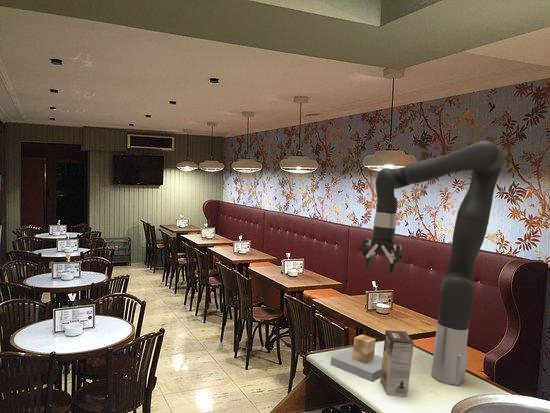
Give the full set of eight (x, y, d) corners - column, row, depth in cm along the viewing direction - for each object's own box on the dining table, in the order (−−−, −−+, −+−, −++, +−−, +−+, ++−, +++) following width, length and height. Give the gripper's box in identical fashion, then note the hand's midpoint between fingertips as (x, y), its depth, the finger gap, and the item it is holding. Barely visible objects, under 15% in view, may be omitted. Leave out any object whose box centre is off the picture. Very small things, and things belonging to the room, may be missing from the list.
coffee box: (379, 380, 136) (384, 329, 135) (400, 382, 136) (406, 331, 134) (386, 395, 126) (392, 340, 125) (408, 397, 126) (414, 342, 125)
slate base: (393, 369, 145) (393, 361, 145) (372, 381, 134) (372, 373, 134) (353, 354, 155) (353, 347, 155) (330, 364, 144) (331, 356, 144)
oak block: (373, 360, 145) (375, 339, 144) (365, 363, 141) (367, 342, 140) (360, 354, 148) (362, 334, 147) (352, 358, 144) (354, 337, 144)
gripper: (408, 228, 155) (403, 274, 156) (371, 222, 164) (366, 266, 165) (399, 228, 149) (393, 276, 150) (361, 223, 158) (356, 268, 159)
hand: (379, 271), depth 158 cm, fingers open, 8 cm apart
